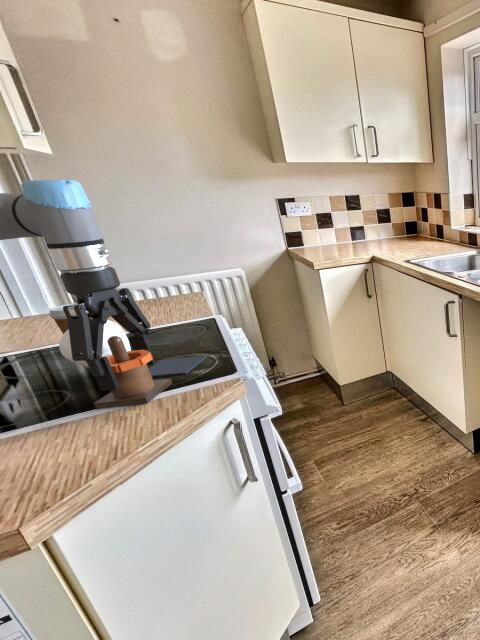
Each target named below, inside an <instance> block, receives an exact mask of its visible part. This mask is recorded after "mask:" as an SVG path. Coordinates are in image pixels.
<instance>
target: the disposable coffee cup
mask: <svg viewBox="0 0 480 640" xmlns="http://www.w3.org/2000/svg"><path fill="white" fill-rule="evenodd" d="M75 304H77V302H71V303H66V304H60V305H58V306H54V307H51V308H50V309H49V314H48V316H49V317H51V319H52V320H53V321H54V322H55V324H56V325H57V327H58V328H59V330H60V331H61V333H62V334H64V333H65V332H66V331H67V330H68V329H69V328H68V321H67V317H66V315H65V313H64V311H63V307H64V306H69V305H75ZM90 319H92V318H91V317H90Z"/></svg>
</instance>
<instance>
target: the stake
mask: <svg viewBox="0 0 480 640" xmlns="http://www.w3.org/2000/svg"><path fill="white" fill-rule="evenodd" d="M107 343H108V345H109V348H110V350H111V353H112V355H113V357H114V360H115V362H116V363H112V364H118V363H122V362H126V361H130V360H133V359H130V358H129V356H128V353H127V350H126V348H125V345H124V343H123V340H122V338H120V337H119V336H111V337H110V338H108V340H107ZM148 366H149V365H147V363H146V364H145V365H141V366H140V367H137V368H134V369H130V370H127V371H123V372H121V371H120V372H118V373H114V375H115V378H116V380H117V383H118V385H119V388H118V389H113V390H110V392H109V393H107V394H106V395H104V396H103V397H101V398H100V399H98V400H96V401H95V402H93V405H94V408H95V409H97V410H98V409H105V408H104V407H107V408H114V407H113V406H116V407H124V406H125V405H126V406H134V404H136V405H142V404H141V403H145V404H149V403H150V402H151V401H152V400H153V399H152V398H153V397H155V396H156V395H157V396H159V395H160V394H161V393H162V392H164V391H166V389H168V387H170V386H172V384H173V380H172V378H162V379H154V378H152V376H151V374H150V371H149V368H150V367H148ZM153 379H154V380H153ZM159 393H160V394H159ZM158 394H159V395H158ZM157 396H156V397H157ZM156 397H155V398H156ZM151 399H152V400H151ZM150 400H151V401H150ZM149 401H150V402H149ZM148 402H149V403H148Z"/></svg>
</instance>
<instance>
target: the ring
mask: <svg viewBox="0 0 480 640" xmlns="http://www.w3.org/2000/svg"><path fill="white" fill-rule="evenodd" d="M127 353H128V356H129V358H130V359H133V360H130V361H126V362H122V363H118V364H112V363H116V362H115V360H114V357H113V355H109V356H107V359H108V361H109V364H110V366H111V368H112V371H113V373H118V372H120V371H121V372H123V371H127V370H130V369H134V368H137V367H140V366H141V365H145V364H146V363H148V362H149V361H151V360H152V359H153V358H152V355H153V354H152V355H151V353H150V352H148V351H147V350H131V351H127Z"/></svg>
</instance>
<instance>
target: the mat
mask: <svg viewBox="0 0 480 640" xmlns="http://www.w3.org/2000/svg"><path fill="white" fill-rule="evenodd" d="M207 358H208V357H207V355H200V356H189V357H178V358H177V357H175V358H167V359H161V360H159V361H158V362H155V364H152V365H151V366H150V367H148V368H149V371H150V374H151V376H152V379H154V378H162V377H173V376H181V375H182V376H183V375H184V376H185V375H187V374H189V372H191V371H192V370H194V368H196V367H197V366H199V365H200V364H201V363H202V362H203V361H205V360H206V359H207Z"/></svg>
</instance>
